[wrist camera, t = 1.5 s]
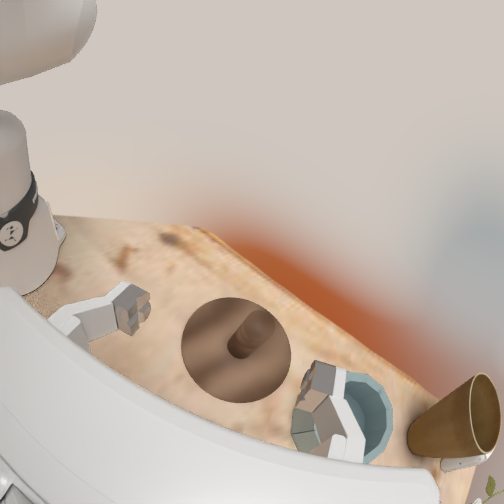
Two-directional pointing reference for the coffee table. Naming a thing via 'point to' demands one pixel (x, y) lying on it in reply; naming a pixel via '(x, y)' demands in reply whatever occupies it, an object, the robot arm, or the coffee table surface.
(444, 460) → the photo printer
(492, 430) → the plant pot
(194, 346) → the walnut lid
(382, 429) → the ceramic bowl
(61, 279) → the coffee table surface
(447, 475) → the coffee table surface
